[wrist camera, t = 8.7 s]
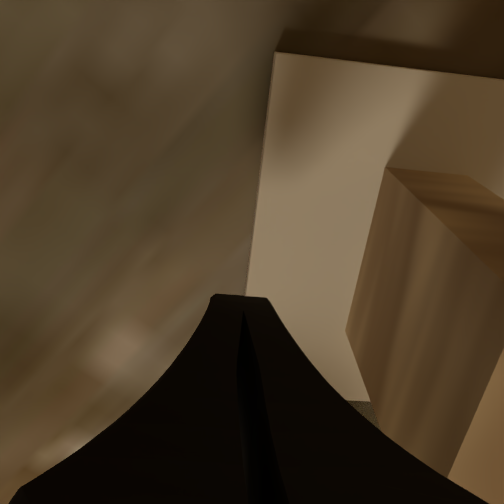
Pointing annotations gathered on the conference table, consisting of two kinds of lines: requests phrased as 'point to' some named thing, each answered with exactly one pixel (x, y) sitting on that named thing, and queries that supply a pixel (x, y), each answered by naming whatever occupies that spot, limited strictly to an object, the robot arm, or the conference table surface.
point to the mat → (352, 181)
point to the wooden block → (436, 324)
